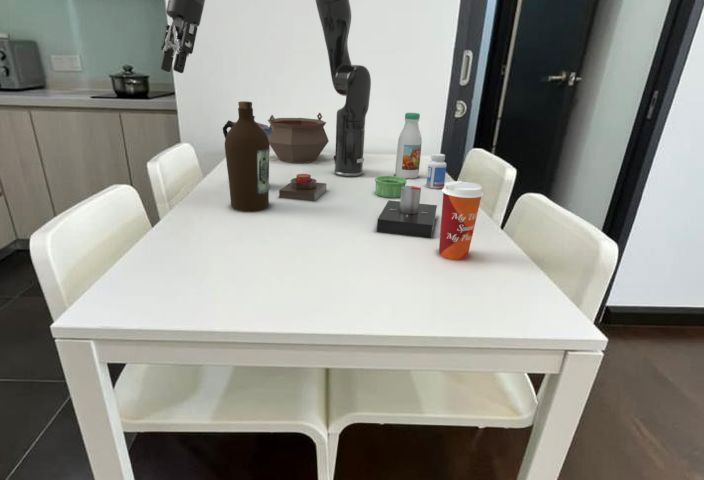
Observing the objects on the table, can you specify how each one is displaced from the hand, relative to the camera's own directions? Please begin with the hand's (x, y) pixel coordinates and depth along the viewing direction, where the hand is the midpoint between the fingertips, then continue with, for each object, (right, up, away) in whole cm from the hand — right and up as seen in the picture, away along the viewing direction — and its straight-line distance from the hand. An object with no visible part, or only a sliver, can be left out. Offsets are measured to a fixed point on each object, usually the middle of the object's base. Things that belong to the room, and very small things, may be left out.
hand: (171, 71), depth 109 cm
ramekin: (+54, -25, +24) cm, 64 cm away
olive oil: (+17, -31, +9) cm, 36 cm away
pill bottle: (+69, -21, +34) cm, 80 cm away
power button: (+30, -22, +19) cm, 42 cm away
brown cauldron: (+24, -4, +66) cm, 70 cm away
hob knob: (+56, -33, -1) cm, 65 cm away
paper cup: (+62, -44, -16) cm, 78 cm away
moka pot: (+14, -22, +26) cm, 37 cm away
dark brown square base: (+30, -25, +21) cm, 44 cm away
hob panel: (+56, -36, 0) cm, 66 cm away
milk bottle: (+62, -15, +45) cm, 79 cm away
